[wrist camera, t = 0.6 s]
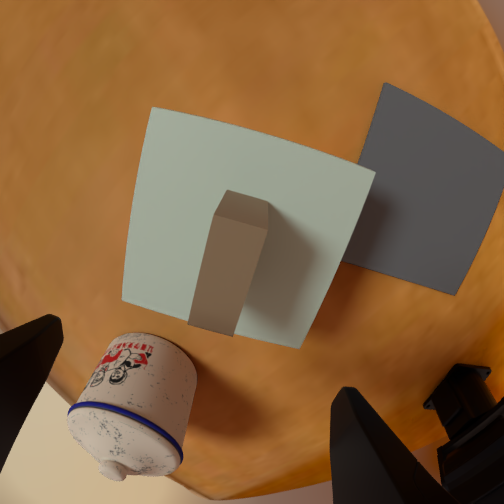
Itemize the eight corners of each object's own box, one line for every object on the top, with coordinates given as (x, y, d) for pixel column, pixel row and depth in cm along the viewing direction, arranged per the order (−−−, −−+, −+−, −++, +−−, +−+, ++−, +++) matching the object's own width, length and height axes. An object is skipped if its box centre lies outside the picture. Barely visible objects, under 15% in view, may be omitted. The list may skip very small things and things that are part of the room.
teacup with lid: (152, 311, 24) (94, 431, 13) (221, 383, 27) (203, 500, 16) (74, 357, 27) (21, 444, 16) (135, 413, 30) (103, 501, 19)
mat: (509, 158, 17) (513, 158, 17) (452, 293, 22) (454, 295, 22) (383, 82, 16) (386, 82, 16) (323, 253, 21) (324, 255, 21)
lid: (370, 169, 15) (409, 192, 10) (298, 340, 19) (304, 398, 15) (157, 107, 14) (114, 105, 10) (126, 293, 18) (93, 341, 14)
